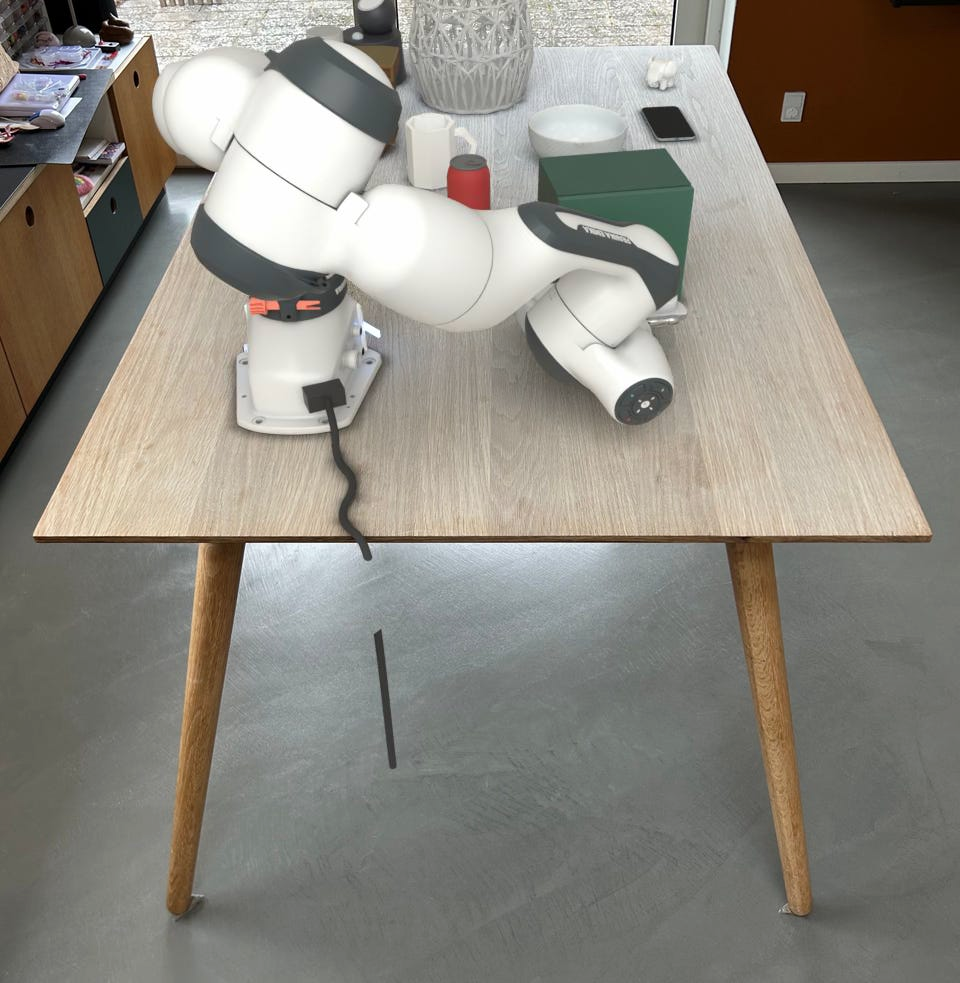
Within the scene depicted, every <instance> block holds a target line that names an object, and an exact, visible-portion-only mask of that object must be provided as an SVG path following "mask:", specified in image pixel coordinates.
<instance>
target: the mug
mask: <svg viewBox="0 0 960 983" xmlns="http://www.w3.org/2000/svg"><path fill="white" fill-rule="evenodd" d="M404 124H405V125H404V126H405V140H406V141H405V142H406V158H407V175H408V176H407V177H408V181H409V183H411V185H412V187H416V188H420V189H424V190H429V191H433V190H438V189H442V188H447V172H448V168H449V165H450V160H451V159H452V158H453V157H455V156H457V137H463V138H464V139H465V140H466V142H467V143H468V144H469V148H468V151H467V153H466V154H475V155H476V152H477V149H478V145H479V140H478V139H477V138H476V137H475V135H474V134H472V132H470V131H469V129H467V128H466V126H459V127H457V126H456V121H455V120H454V119H453V118H452V117H451V115H449V114H445V113H435V112H425V113H421V114H417V115H412V116H411V117H409V119H408V120H407V121H406V122H405V123H404Z"/></svg>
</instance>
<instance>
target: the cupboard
mask: <svg viewBox="0 0 960 983" xmlns="http://www.w3.org/2000/svg"><path fill="white" fill-rule="evenodd" d="M537 170H538V172H537V201H540V202H546V203H550V204H555V205H557V200H558V197H563V196H575V195H588V194H600V193H612V192H624V191H637V190H649V189H661V188H674V187H686V186H692V183H691V181H690V180H689V178H688V177H687V175H686V174H685V172H684V171H682V168H680V166H679V164H678V163H677V162H676V161H675V159H674V158H673V157H672V155H671V154H670V153H669V151H668V150H667V149H666V148H665V147H662V148H661V147H659V148H648V149H647V148H645V149H635V150H620V151H619V152H607V153H594V154H581V155H568V156H555V157H539V158H538V169H537ZM552 283H554V281H553V282H552ZM550 284H551V283H550Z"/></svg>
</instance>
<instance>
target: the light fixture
mask: <svg viewBox="0 0 960 983" xmlns="http://www.w3.org/2000/svg"><path fill="white" fill-rule="evenodd" d="M355 18H356V22H357V23H358V25H355V26H350V27H348V28H346V29H344V30H343V41H344V43H345V44H348V45H351V46H390V47H399V61H400V63H399V69H398V72H397V75H396V87H397V86H399V85H401V84H402V83H404V82H405V81H406V79H407V74H406V64H405V57H404V46H403V40H402V39H403V38H402V32H401V29H399V28H397V27H394V26H395V23H396V20H397V10H396V6H395V4H394V2H393V1H392V0H359V1H358V3H357V4H356V8H355Z"/></svg>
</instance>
